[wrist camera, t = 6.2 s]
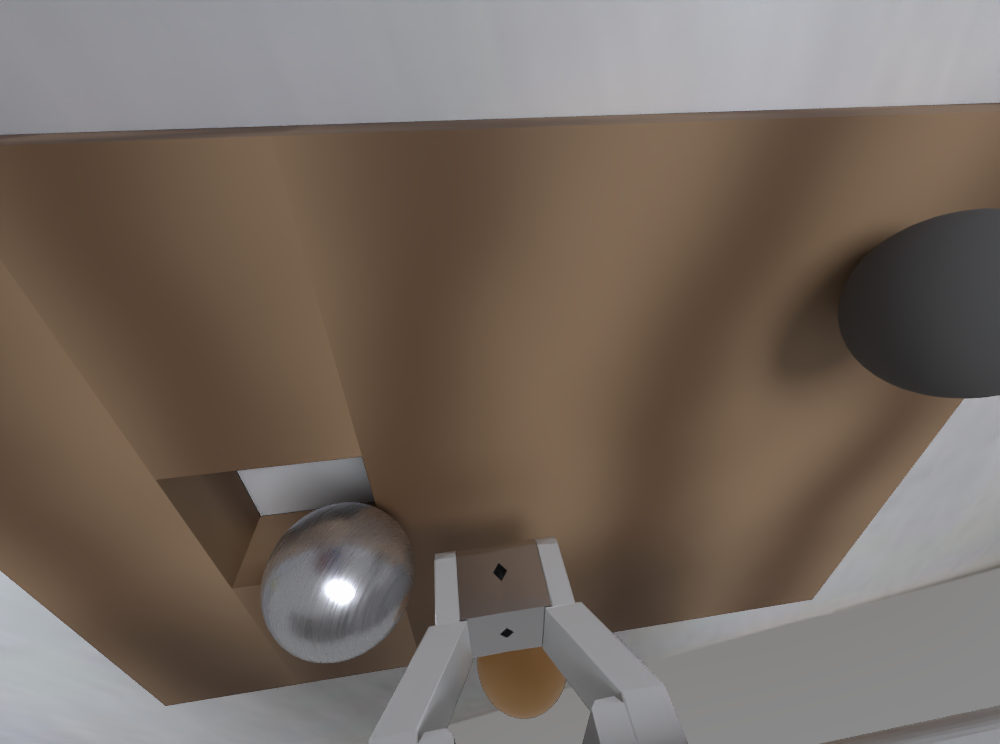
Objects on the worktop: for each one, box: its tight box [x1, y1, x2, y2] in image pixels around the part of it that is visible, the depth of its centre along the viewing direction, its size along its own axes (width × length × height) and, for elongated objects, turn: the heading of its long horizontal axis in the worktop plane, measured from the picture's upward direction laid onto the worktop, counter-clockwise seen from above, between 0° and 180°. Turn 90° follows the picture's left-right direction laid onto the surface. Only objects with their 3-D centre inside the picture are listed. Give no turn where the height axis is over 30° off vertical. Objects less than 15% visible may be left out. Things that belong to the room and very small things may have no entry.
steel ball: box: [260, 502, 415, 663], centre depth 10 cm, size 3×3×3 cm
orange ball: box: [477, 646, 566, 719], centre depth 14 cm, size 3×3×3 cm
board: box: [0, 103, 1000, 706], centre depth 13 cm, size 26×18×2 cm
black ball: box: [838, 208, 1000, 399], centre depth 8 cm, size 3×3×3 cm
